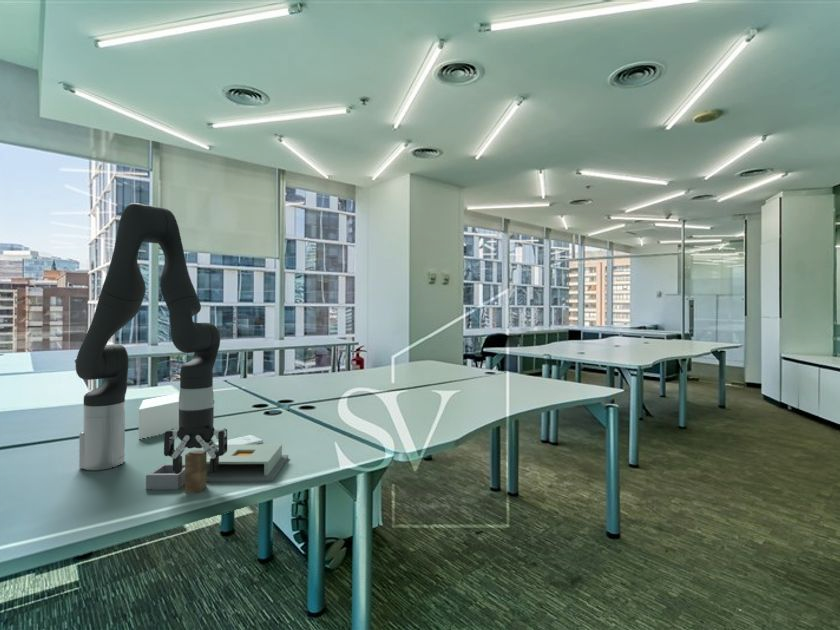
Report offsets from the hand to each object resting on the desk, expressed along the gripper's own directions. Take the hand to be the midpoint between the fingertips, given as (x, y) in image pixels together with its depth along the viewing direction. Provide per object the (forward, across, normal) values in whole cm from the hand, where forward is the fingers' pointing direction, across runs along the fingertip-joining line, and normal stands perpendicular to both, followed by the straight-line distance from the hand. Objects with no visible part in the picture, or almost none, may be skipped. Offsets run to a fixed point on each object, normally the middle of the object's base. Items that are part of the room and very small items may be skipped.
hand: (195, 472), depth 104 cm
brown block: (+4, 0, 0) cm, 4 cm away
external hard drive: (+5, -2, +35) cm, 35 cm away
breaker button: (+2, +7, +13) cm, 15 cm away
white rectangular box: (+4, -35, +54) cm, 65 cm away
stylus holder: (+4, -8, +4) cm, 10 cm away
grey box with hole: (+4, +7, +13) cm, 15 cm away
